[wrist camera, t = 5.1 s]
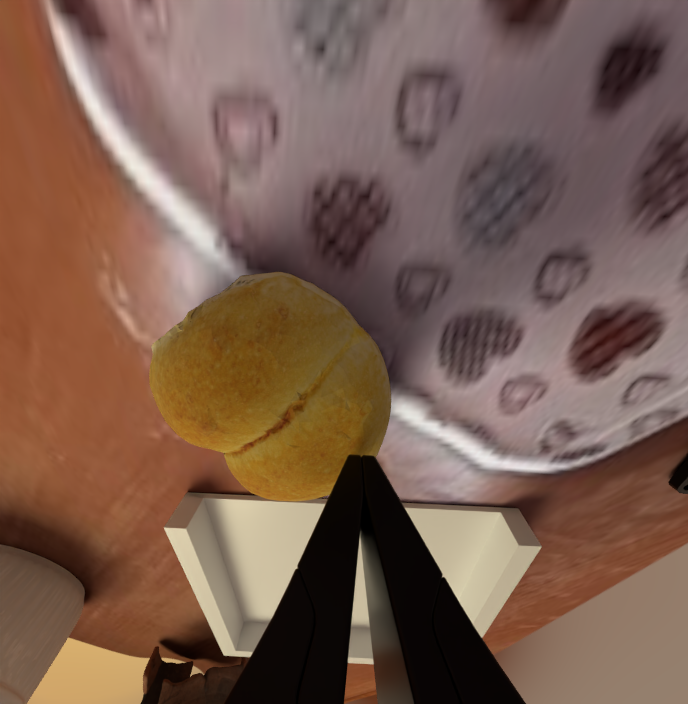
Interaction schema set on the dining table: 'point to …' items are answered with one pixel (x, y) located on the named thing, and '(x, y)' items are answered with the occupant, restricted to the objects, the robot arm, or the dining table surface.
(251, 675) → the robot arm
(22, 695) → the ramekin
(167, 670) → the pottery mug
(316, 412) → the bread roll
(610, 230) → the dining table surface
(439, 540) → the tray
